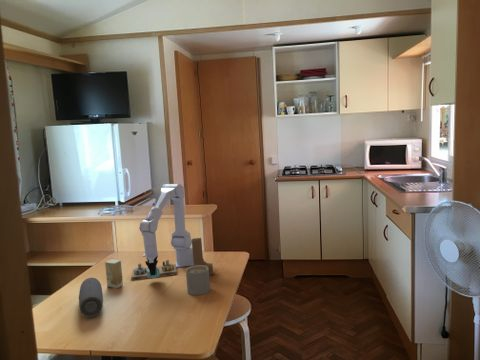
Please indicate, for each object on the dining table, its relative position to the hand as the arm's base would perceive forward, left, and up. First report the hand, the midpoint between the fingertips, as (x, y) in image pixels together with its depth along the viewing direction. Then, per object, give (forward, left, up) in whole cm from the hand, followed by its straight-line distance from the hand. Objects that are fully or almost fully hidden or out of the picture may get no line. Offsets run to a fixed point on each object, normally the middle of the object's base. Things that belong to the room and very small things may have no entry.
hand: (153, 272), depth 190 cm
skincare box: (+18, -2, -5) cm, 19 cm away
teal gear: (0, 0, -2) cm, 2 cm away
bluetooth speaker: (+25, +20, -5) cm, 32 cm away
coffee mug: (-20, +16, -5) cm, 26 cm away
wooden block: (-24, -1, -5) cm, 25 cm away
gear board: (0, -12, -5) cm, 13 cm away
